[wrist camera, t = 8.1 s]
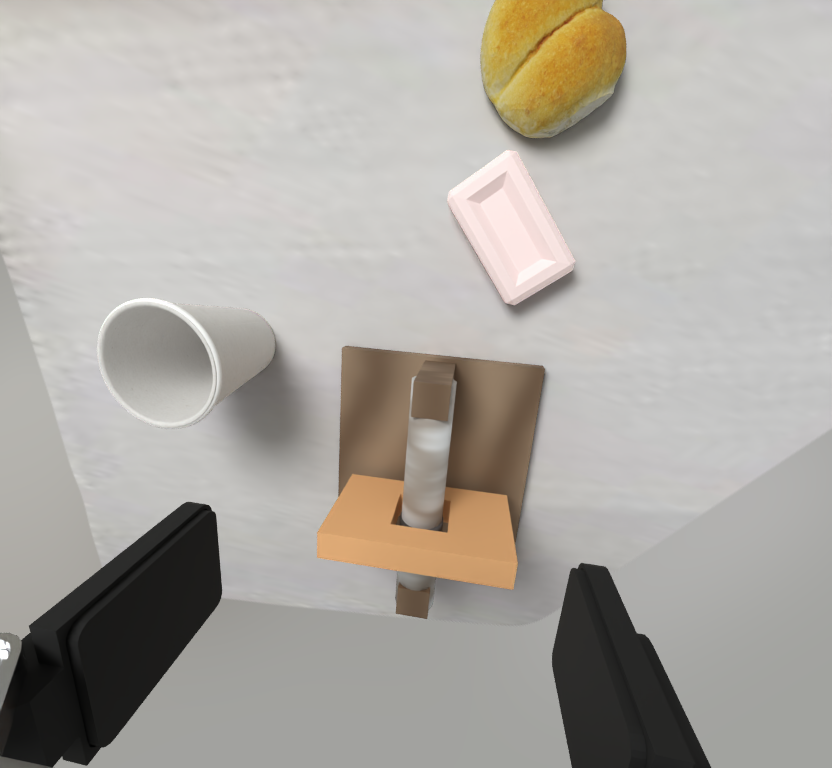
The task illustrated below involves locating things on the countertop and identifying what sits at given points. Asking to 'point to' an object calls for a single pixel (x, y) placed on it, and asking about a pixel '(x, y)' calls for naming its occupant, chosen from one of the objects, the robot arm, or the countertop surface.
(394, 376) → the pipe stand
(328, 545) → the collar
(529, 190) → the soap bar
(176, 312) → the dixie cup
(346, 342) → the countertop surface
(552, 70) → the bread roll
